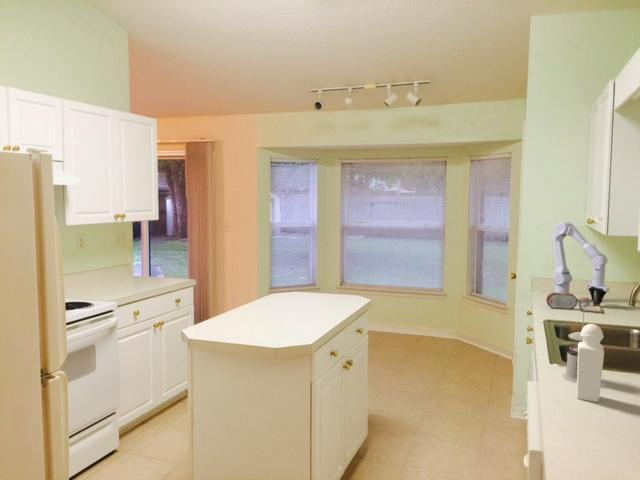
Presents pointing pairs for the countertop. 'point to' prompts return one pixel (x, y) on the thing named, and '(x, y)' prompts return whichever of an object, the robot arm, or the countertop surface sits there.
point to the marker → (595, 300)
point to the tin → (561, 300)
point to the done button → (584, 299)
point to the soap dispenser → (590, 363)
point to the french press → (573, 359)
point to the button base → (584, 302)
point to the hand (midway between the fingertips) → (596, 302)
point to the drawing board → (591, 309)
